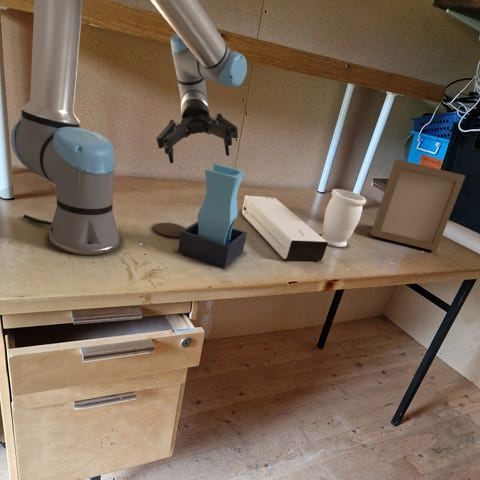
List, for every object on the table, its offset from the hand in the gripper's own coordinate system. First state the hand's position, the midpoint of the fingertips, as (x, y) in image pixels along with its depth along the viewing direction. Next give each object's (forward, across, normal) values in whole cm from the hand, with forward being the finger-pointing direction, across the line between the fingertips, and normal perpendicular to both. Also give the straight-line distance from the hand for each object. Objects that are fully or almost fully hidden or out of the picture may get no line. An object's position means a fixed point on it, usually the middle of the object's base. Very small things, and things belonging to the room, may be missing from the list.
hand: (198, 154), depth 98 cm
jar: (-4, -37, -37) cm, 52 cm away
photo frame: (-14, -64, -50) cm, 82 cm away
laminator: (-2, -18, -31) cm, 36 cm away
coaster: (+3, +11, -19) cm, 22 cm away
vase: (+13, 0, -19) cm, 23 cm away
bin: (+13, 0, -19) cm, 23 cm away
